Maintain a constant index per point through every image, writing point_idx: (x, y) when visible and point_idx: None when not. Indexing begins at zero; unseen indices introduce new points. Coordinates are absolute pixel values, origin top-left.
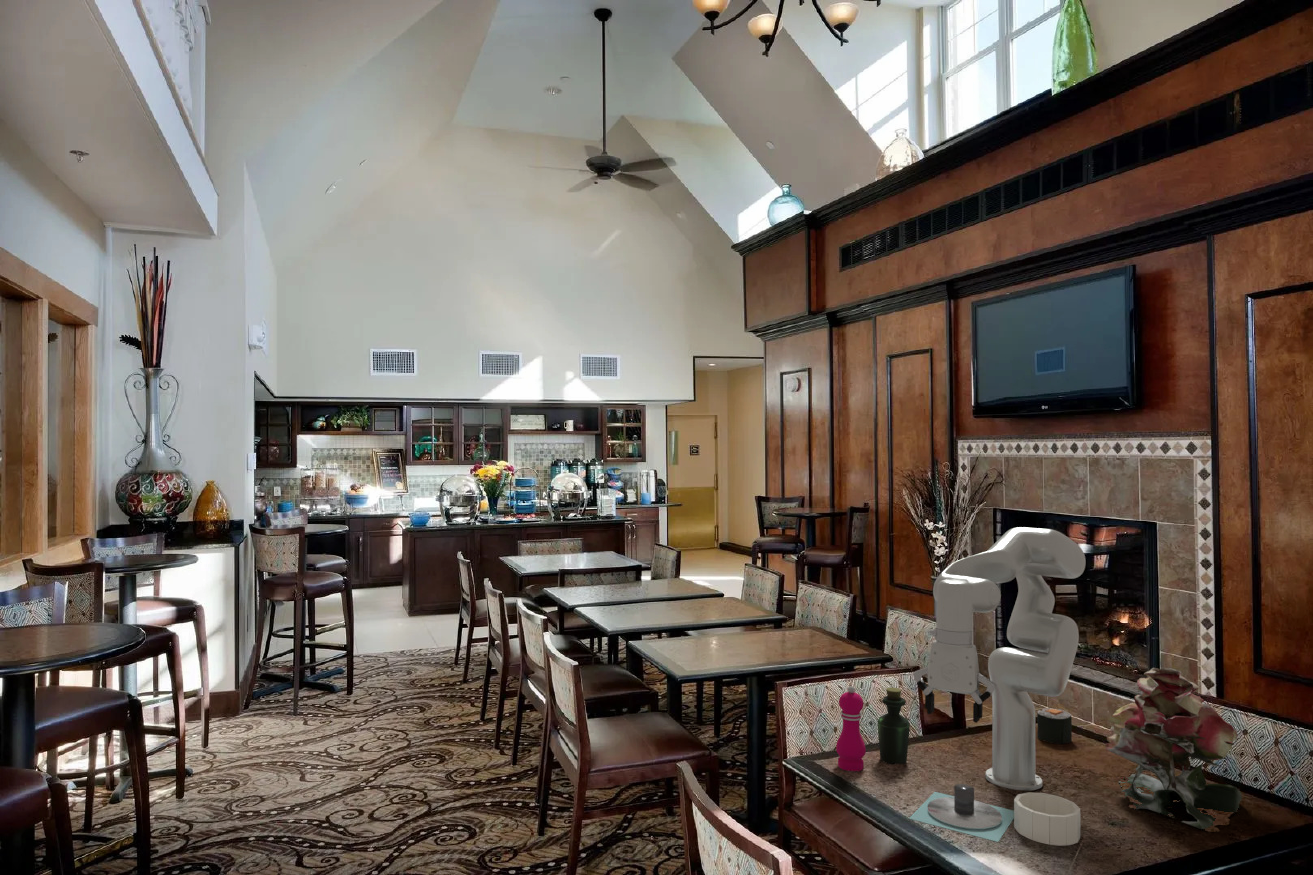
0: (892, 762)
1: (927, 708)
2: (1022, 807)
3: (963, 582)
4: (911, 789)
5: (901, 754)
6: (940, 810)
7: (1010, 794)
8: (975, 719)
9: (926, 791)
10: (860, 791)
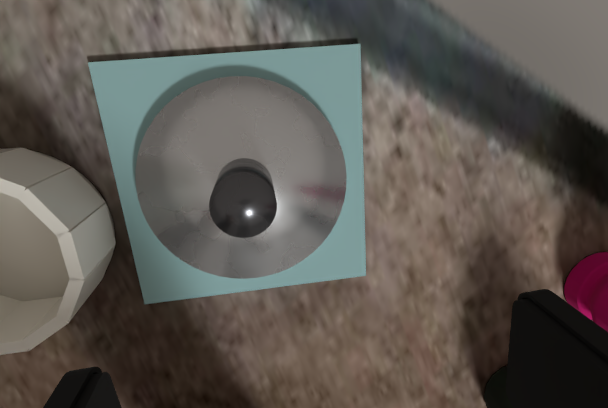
0: None
1: (581, 315)
2: (11, 181)
3: None
4: (422, 255)
5: (505, 395)
6: (300, 142)
7: (212, 393)
8: (67, 388)
9: (386, 270)
10: (532, 147)
